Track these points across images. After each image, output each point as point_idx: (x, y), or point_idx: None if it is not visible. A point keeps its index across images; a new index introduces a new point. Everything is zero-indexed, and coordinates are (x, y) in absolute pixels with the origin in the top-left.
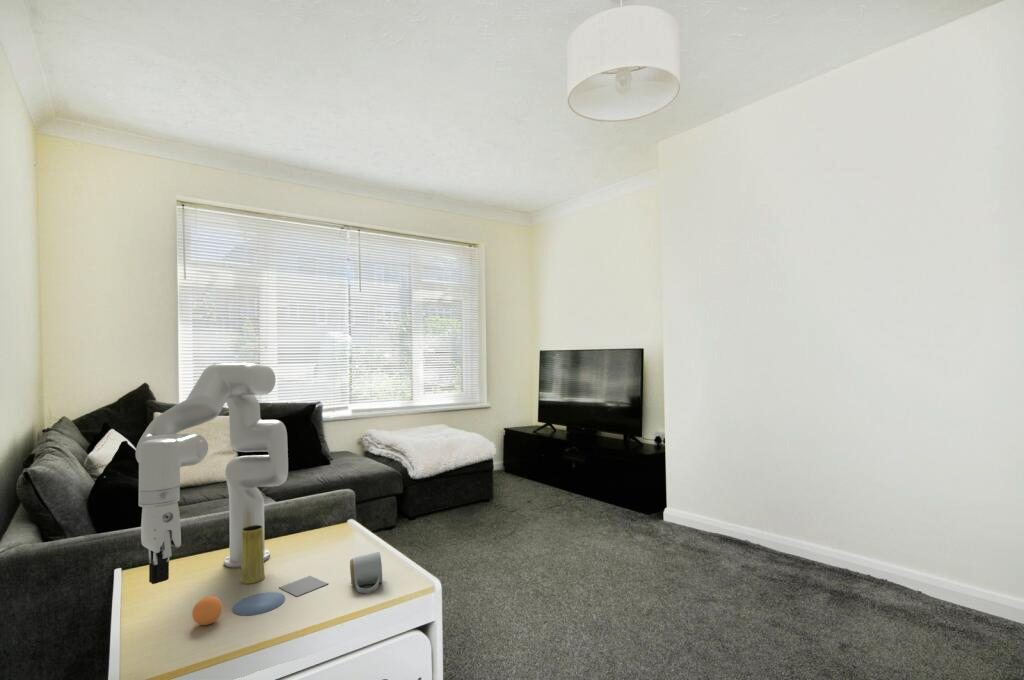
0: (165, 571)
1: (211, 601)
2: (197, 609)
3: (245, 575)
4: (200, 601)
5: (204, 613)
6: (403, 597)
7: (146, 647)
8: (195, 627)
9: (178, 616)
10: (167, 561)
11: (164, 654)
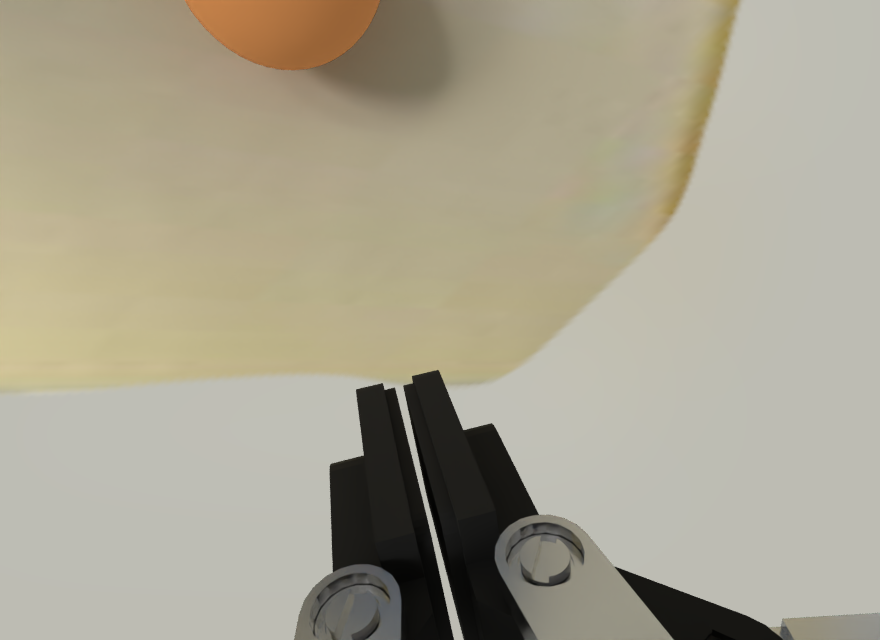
0: (506, 459)
1: None
2: (336, 43)
3: None
4: (288, 3)
5: (376, 1)
6: None
7: (359, 297)
8: None
9: (13, 104)
10: (570, 538)
11: (496, 238)
